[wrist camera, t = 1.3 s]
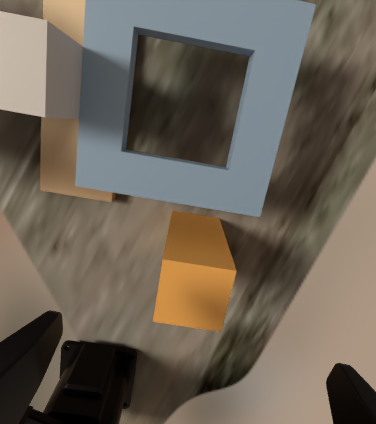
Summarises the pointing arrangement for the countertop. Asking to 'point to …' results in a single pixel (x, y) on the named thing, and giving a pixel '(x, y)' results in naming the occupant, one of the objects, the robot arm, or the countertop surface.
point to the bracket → (123, 84)
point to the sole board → (62, 127)
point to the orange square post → (195, 273)
